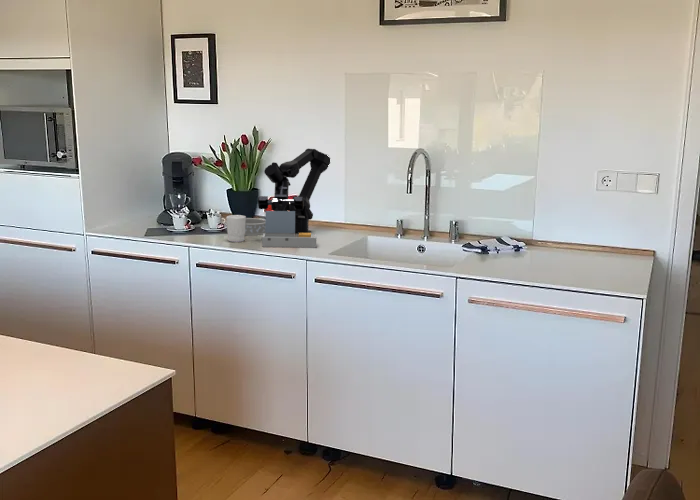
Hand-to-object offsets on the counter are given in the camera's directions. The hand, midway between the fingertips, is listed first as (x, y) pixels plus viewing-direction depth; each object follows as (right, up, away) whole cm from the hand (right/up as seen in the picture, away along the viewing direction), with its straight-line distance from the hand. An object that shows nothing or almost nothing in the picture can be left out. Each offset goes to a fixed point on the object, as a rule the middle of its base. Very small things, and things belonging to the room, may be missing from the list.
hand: (280, 219), depth 293 cm
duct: (+4, -11, -2) cm, 11 cm away
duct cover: (0, -1, -1) cm, 2 cm away
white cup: (-19, -9, +6) cm, 21 cm away
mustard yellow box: (+10, -9, +7) cm, 15 cm away
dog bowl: (-16, -5, +25) cm, 30 cm away
